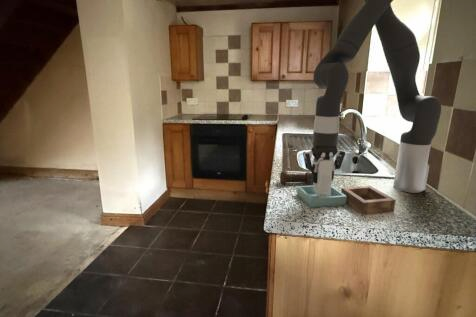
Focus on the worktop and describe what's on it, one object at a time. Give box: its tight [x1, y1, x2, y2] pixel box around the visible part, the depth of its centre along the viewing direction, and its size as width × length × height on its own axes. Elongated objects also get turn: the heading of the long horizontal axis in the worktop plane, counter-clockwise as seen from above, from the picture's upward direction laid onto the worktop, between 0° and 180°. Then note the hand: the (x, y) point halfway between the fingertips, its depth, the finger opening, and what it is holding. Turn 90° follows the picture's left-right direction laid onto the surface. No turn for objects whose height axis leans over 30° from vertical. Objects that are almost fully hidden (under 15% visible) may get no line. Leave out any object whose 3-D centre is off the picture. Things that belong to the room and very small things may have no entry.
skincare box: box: [312, 160, 333, 197], centre depth 91 cm, size 6×4×12 cm
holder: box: [340, 185, 397, 216], centre depth 88 cm, size 10×12×4 cm
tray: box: [296, 184, 347, 209], centre depth 93 cm, size 12×11×3 cm
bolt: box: [279, 170, 313, 186], centre depth 107 cm, size 6×5×15 cm
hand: (321, 181), depth 91 cm, fingers closed on skincare box, 4 cm apart
